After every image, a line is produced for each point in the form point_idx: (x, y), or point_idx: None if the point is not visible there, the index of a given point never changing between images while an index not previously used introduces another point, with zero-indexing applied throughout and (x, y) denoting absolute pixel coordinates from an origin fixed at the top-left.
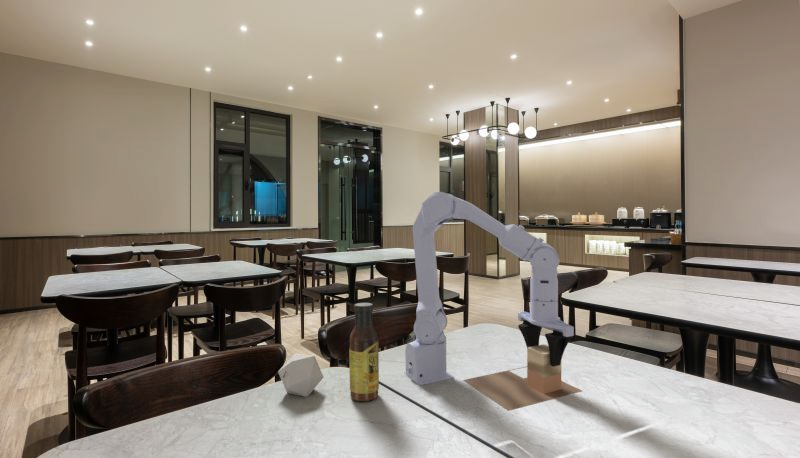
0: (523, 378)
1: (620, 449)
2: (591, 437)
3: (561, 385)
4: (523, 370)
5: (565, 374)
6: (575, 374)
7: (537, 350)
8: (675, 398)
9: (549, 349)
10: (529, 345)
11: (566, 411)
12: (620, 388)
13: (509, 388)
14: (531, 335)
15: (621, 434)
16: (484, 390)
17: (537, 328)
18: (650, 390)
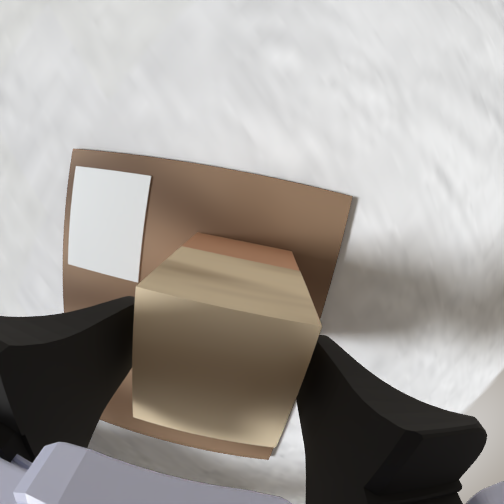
0: (137, 280)
1: (485, 384)
2: (445, 398)
3: (271, 216)
4: (88, 215)
5: (203, 82)
6: (230, 51)
7: (207, 425)
8: (498, 44)
9: (308, 460)
10: (113, 387)
11: (372, 359)
12: (406, 58)
13: None
14: (81, 416)
15: (487, 340)
16: (150, 427)
17: (43, 398)
18: (452, 23)
